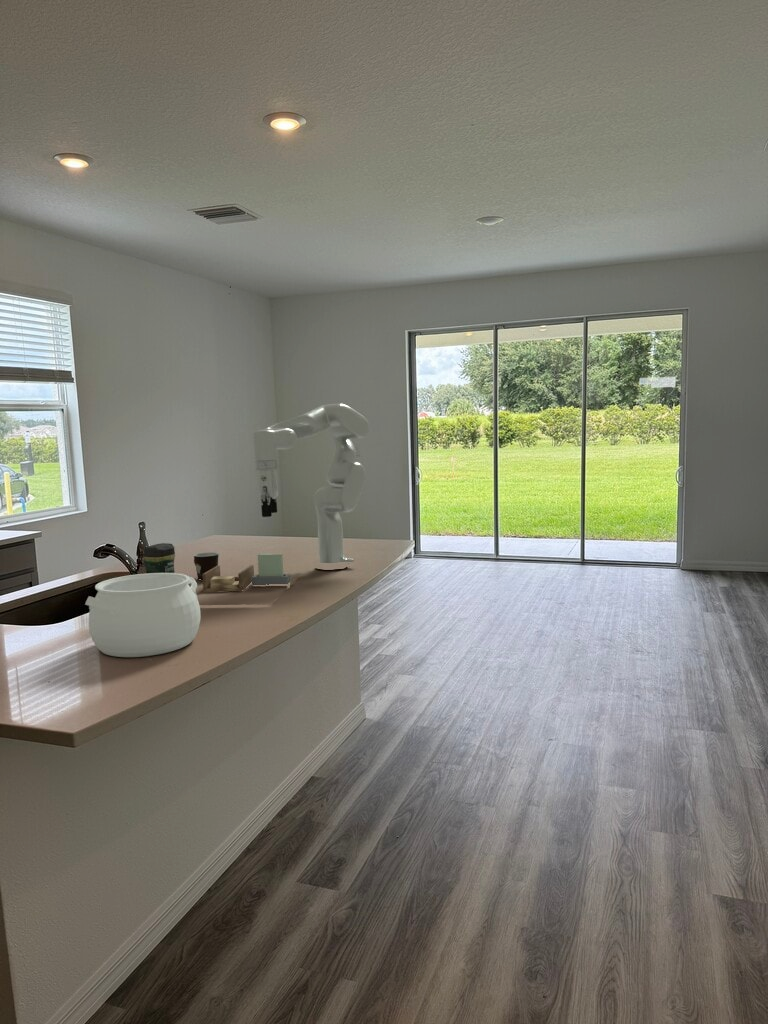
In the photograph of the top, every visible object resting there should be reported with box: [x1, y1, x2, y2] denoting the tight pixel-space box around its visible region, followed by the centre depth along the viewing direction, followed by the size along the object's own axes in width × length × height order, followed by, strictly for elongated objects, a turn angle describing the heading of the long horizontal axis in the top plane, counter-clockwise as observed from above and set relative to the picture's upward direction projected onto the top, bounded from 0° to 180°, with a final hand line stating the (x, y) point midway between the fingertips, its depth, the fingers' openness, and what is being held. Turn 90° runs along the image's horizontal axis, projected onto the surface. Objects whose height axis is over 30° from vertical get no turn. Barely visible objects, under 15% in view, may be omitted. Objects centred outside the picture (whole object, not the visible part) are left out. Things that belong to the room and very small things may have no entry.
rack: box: [202, 564, 255, 593], centre depth 236 cm, size 13×15×7 cm
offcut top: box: [211, 575, 236, 585], centre depth 232 cm, size 7×4×2 cm, turn 90°
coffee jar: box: [143, 542, 176, 574], centre depth 221 cm, size 10×8×19 cm
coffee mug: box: [193, 551, 219, 580], centre depth 252 cm, size 12×9×10 cm
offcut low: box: [211, 582, 239, 588], centre depth 233 cm, size 9×4×2 cm, turn 85°
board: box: [257, 552, 284, 577], centre depth 236 cm, size 8×2×11 cm, turn 85°
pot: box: [84, 573, 202, 658], centre depth 174 cm, size 29×26×16 cm
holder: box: [251, 573, 291, 586], centre depth 237 cm, size 12×6×4 cm, turn 85°
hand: (269, 514), depth 244 cm, fingers open, 9 cm apart
